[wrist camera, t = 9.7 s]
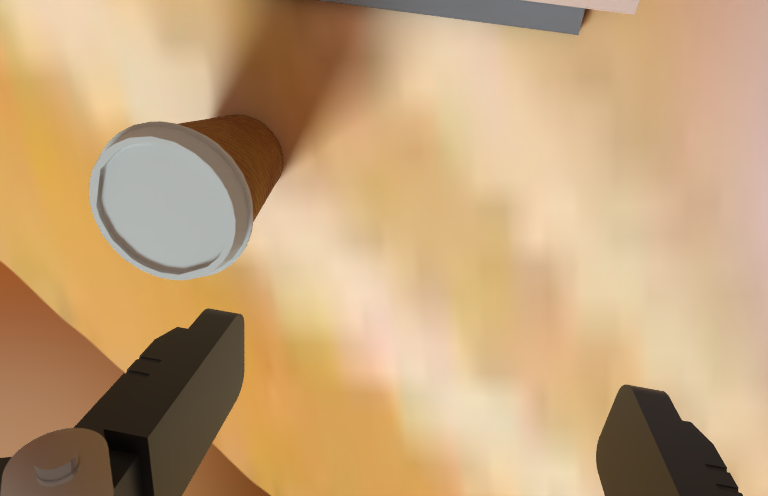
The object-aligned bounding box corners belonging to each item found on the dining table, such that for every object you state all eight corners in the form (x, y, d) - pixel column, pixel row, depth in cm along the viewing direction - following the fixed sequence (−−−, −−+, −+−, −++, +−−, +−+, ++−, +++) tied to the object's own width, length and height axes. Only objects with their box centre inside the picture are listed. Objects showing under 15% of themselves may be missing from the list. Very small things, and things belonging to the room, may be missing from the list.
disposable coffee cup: (240, 64, 37) (147, 88, 26) (329, 167, 39) (278, 228, 28) (159, 146, 40) (49, 197, 29) (246, 236, 42) (173, 314, 32)
